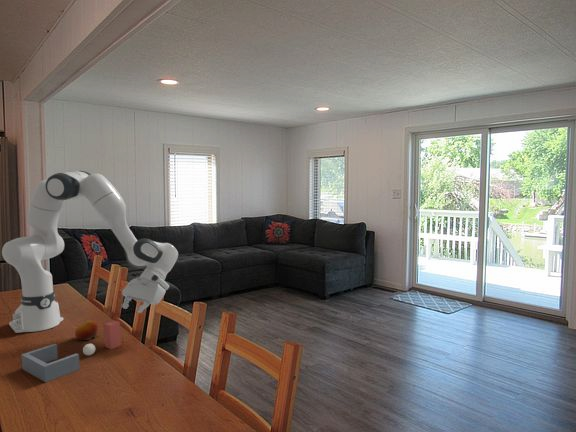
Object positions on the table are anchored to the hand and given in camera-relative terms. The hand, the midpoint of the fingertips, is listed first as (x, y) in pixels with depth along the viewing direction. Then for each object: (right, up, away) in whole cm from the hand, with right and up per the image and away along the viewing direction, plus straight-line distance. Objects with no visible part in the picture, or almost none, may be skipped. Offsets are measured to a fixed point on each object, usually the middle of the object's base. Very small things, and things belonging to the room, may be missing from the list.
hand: (131, 309), depth 157 cm
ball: (-10, -13, -13) cm, 21 cm away
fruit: (-18, -12, +3) cm, 22 cm away
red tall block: (-5, -12, -6) cm, 14 cm away
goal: (-17, -14, -23) cm, 32 cm away
